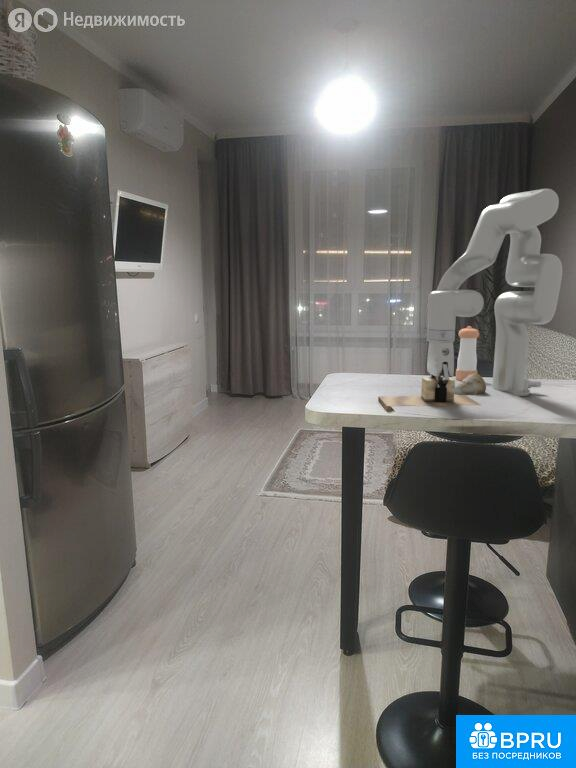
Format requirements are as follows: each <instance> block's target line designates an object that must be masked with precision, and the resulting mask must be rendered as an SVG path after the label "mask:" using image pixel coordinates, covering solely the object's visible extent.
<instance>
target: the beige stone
mask: <svg viewBox="0 0 576 768" xmlns="http://www.w3.org/2000/svg"><path fill="white" fill-rule="evenodd" d="M486 390H487V384H486V382H485V380H484V378H483V377H482V376H481V375H480V374H478V373H477V374H470V375H468V376H467V377H465V378H464V379H463V380H462V381H461V382H460V383H458V384H455V389H454V395H455V394H456V395H467V394H474V395H479V394H483V393H486Z"/></svg>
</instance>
